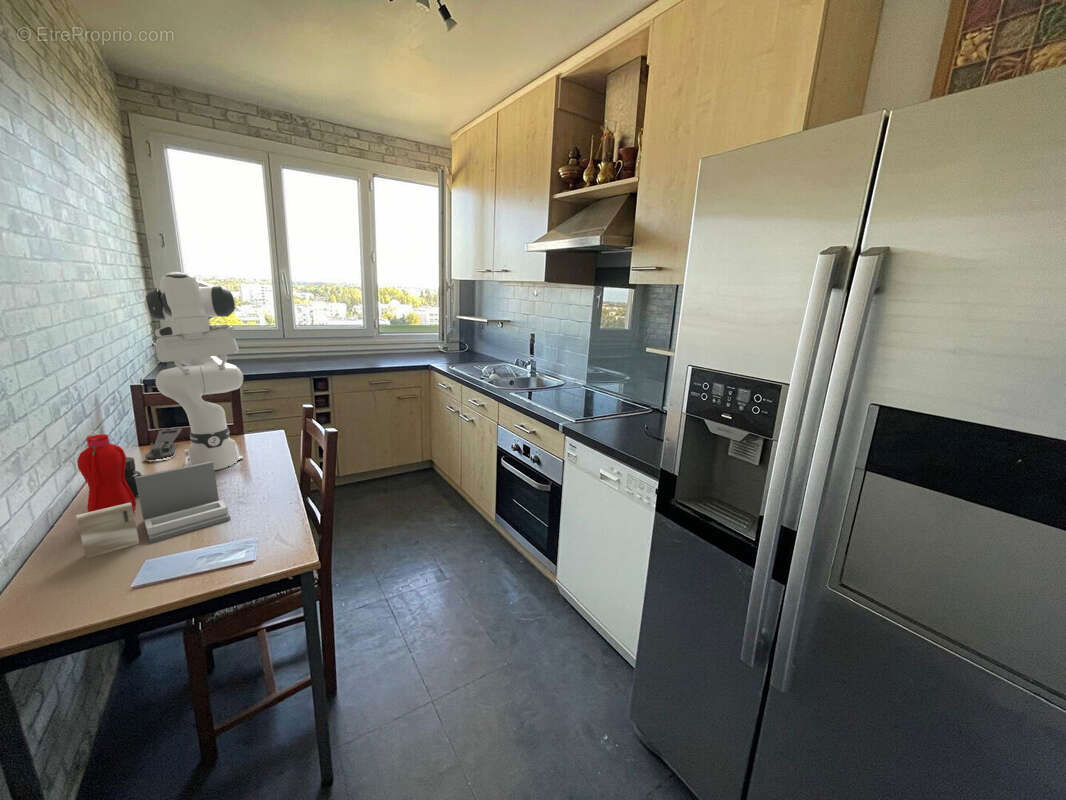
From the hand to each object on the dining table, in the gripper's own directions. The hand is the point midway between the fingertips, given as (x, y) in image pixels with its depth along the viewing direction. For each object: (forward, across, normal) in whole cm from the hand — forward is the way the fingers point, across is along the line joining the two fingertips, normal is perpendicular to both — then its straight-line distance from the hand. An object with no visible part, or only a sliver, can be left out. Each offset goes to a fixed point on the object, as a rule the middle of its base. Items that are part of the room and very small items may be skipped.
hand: (204, 372), depth 134 cm
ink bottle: (+37, +32, -13) cm, 51 cm away
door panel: (+41, +24, +24) cm, 53 cm away
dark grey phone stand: (+33, +34, -58) cm, 75 cm away
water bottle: (+38, +30, +3) cm, 49 cm away
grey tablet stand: (+41, +10, +13) cm, 45 cm away
